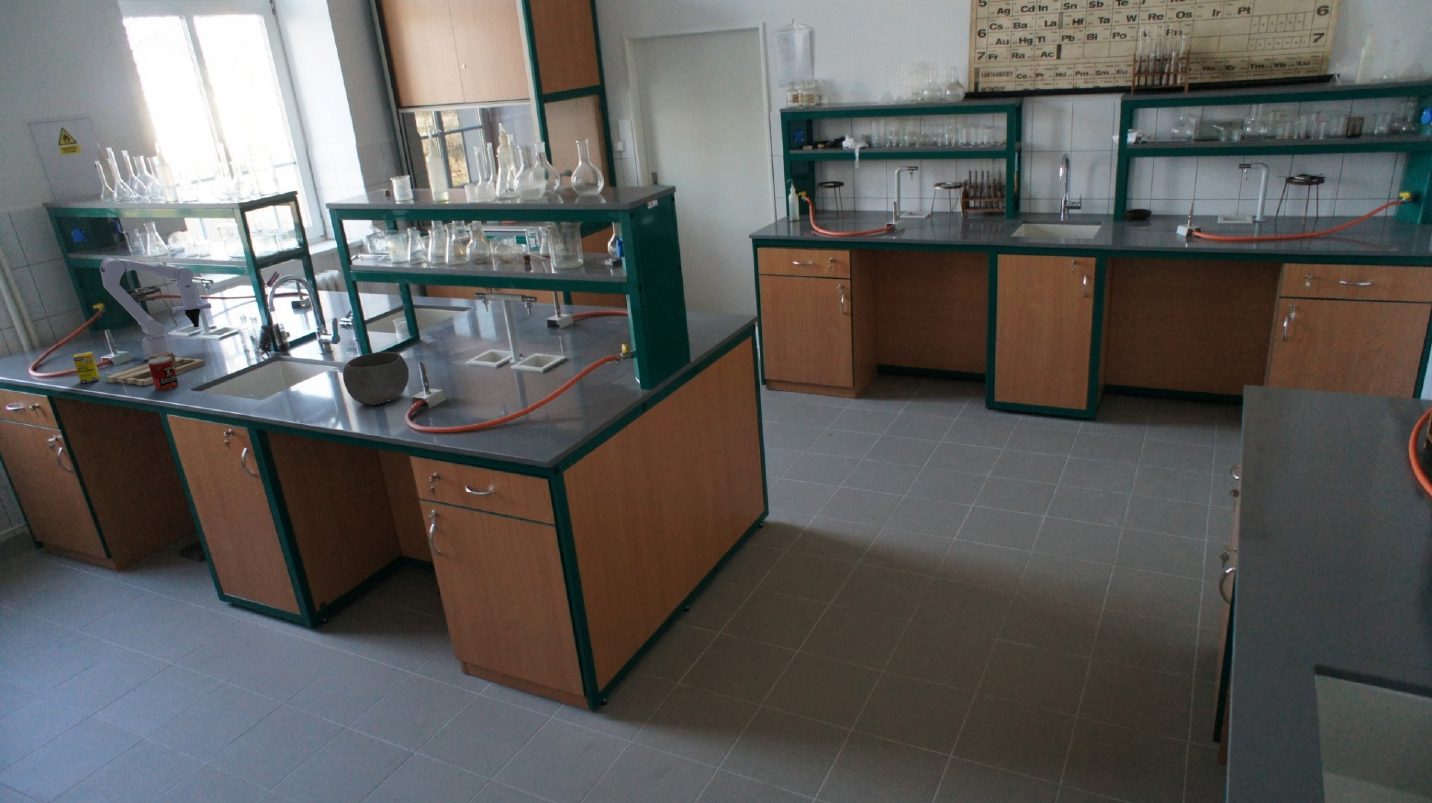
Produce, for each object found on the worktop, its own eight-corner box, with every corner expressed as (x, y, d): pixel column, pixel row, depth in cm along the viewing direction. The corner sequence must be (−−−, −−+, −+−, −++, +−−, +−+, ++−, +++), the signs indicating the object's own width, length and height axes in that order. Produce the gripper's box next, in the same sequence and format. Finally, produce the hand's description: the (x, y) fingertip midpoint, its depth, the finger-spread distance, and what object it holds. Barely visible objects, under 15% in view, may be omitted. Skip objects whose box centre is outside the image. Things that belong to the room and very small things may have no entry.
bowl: (378, 388, 332) (370, 348, 327) (425, 392, 324) (418, 351, 319) (335, 408, 314) (326, 367, 308) (384, 414, 306) (375, 371, 301)
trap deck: (107, 381, 359) (105, 376, 358) (166, 360, 381) (165, 356, 380) (146, 386, 350) (145, 381, 350) (205, 364, 373) (203, 359, 372)
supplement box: (81, 384, 357) (72, 357, 353) (82, 380, 362) (74, 354, 358) (99, 381, 360) (90, 354, 356) (100, 377, 365) (92, 351, 361)
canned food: (163, 392, 343) (154, 363, 339) (151, 389, 347) (143, 361, 343) (183, 385, 349) (175, 357, 345) (171, 382, 353) (163, 355, 349)
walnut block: (153, 371, 362) (148, 356, 359) (166, 366, 367) (162, 351, 365) (163, 372, 359) (159, 357, 357) (177, 367, 364) (173, 352, 362)
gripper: (166, 299, 383) (175, 331, 388) (205, 295, 387) (213, 326, 392) (171, 295, 390) (179, 327, 395) (208, 291, 393) (216, 322, 398)
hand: (196, 326), depth 394 cm, fingers closed
